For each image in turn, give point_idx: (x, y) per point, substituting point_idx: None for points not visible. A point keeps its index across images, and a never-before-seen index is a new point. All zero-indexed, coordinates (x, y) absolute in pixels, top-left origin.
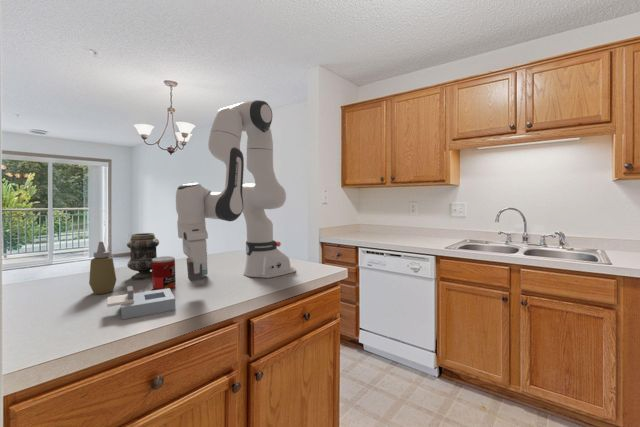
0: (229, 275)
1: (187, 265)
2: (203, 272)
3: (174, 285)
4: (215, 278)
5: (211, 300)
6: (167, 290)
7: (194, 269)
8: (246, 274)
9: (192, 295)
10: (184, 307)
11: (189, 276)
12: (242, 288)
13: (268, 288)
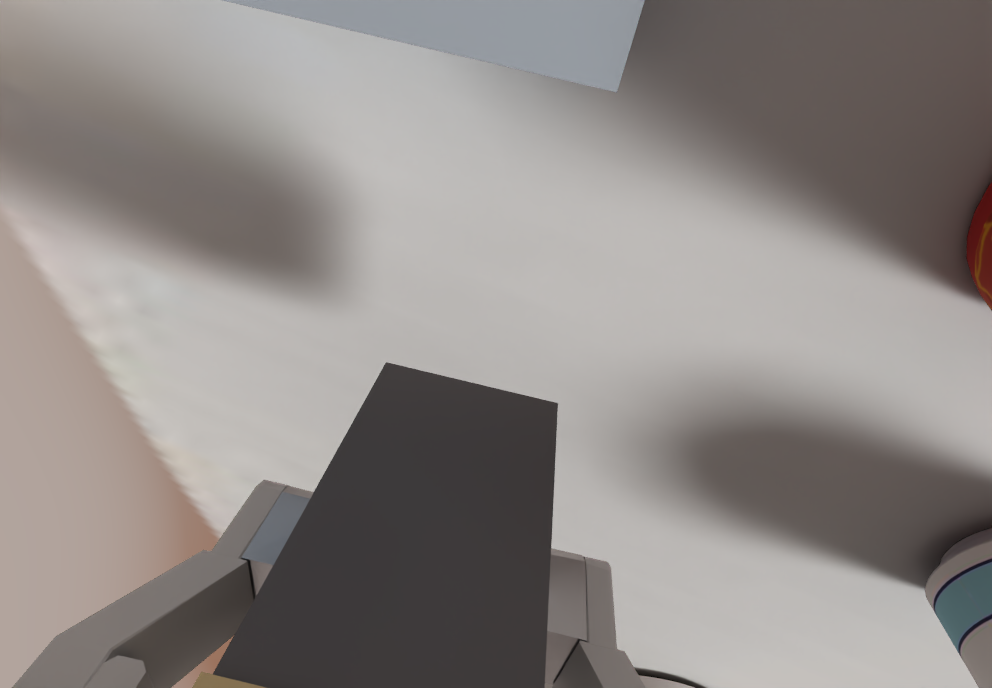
0: (769, 650)
1: (510, 595)
2: (950, 614)
3: (982, 296)
4: (805, 589)
5: (274, 341)
6: (506, 8)
7: (225, 541)
8: (644, 685)
9: (514, 297)
10: (182, 81)
11: (415, 412)
12: None
13: None
